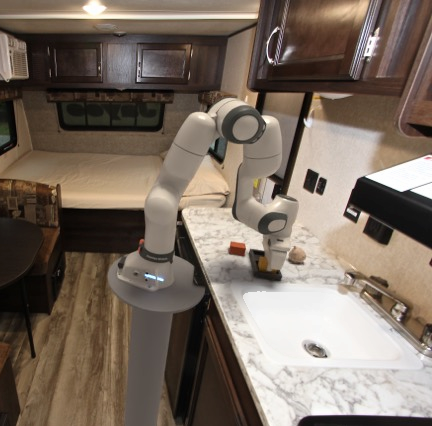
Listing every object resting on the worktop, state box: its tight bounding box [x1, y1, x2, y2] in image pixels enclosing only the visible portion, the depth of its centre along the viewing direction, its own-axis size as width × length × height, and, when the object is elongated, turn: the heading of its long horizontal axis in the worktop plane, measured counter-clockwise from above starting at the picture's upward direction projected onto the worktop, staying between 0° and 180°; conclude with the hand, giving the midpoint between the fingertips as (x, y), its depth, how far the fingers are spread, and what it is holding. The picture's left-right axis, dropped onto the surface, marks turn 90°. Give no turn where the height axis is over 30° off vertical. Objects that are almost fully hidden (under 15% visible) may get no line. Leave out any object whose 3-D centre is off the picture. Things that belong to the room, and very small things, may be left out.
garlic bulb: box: [288, 245, 307, 263], centre depth 124 cm, size 7×6×8 cm
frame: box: [248, 248, 283, 282], centre depth 121 cm, size 10×18×3 cm, turn 163°
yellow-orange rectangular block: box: [258, 257, 277, 274], centre depth 116 cm, size 6×4×4 cm
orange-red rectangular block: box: [228, 241, 247, 257], centre depth 130 cm, size 6×4×4 cm
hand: (267, 265), depth 116 cm, fingers closed on yellow-orange rectangular block, 4 cm apart
